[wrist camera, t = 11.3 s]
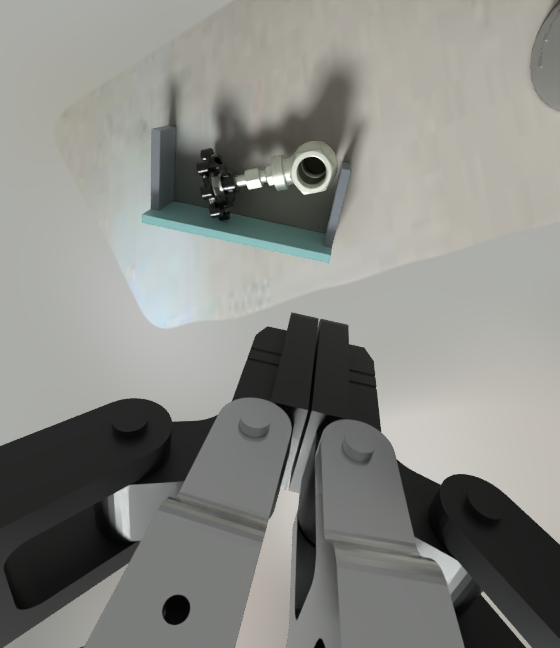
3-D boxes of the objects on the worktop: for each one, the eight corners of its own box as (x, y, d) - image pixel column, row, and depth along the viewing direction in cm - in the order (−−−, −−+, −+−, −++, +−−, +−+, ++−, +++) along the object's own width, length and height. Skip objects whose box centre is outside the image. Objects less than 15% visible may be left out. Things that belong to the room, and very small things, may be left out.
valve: (332, 118, 38) (211, 145, 40) (330, 123, 32) (189, 155, 35) (342, 191, 41) (228, 212, 43) (342, 207, 35) (211, 230, 38)
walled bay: (350, 163, 39) (351, 174, 34) (330, 242, 43) (328, 263, 38) (168, 125, 40) (141, 130, 35) (165, 206, 44) (142, 222, 39)
